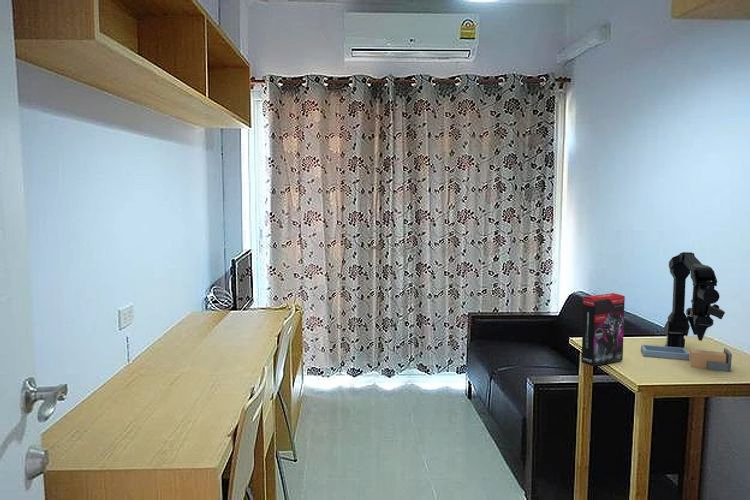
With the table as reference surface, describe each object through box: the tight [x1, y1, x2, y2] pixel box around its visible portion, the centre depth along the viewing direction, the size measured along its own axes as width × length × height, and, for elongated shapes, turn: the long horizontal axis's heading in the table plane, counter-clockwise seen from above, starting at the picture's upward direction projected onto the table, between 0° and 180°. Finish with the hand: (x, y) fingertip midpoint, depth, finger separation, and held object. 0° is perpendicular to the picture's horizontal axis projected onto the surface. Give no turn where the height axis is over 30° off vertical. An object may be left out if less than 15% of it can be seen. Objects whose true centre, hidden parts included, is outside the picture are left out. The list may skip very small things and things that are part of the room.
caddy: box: [688, 348, 726, 369], centre depth 238 cm, size 12×5×6 cm, turn 70°
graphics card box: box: [581, 292, 626, 367], centre depth 242 cm, size 17×7×27 cm, turn 117°
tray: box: [640, 344, 690, 361], centre depth 254 cm, size 17×10×2 cm, turn 73°
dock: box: [707, 347, 733, 373], centre depth 237 cm, size 8×8×7 cm
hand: (697, 337), depth 239 cm, fingers open, 9 cm apart
